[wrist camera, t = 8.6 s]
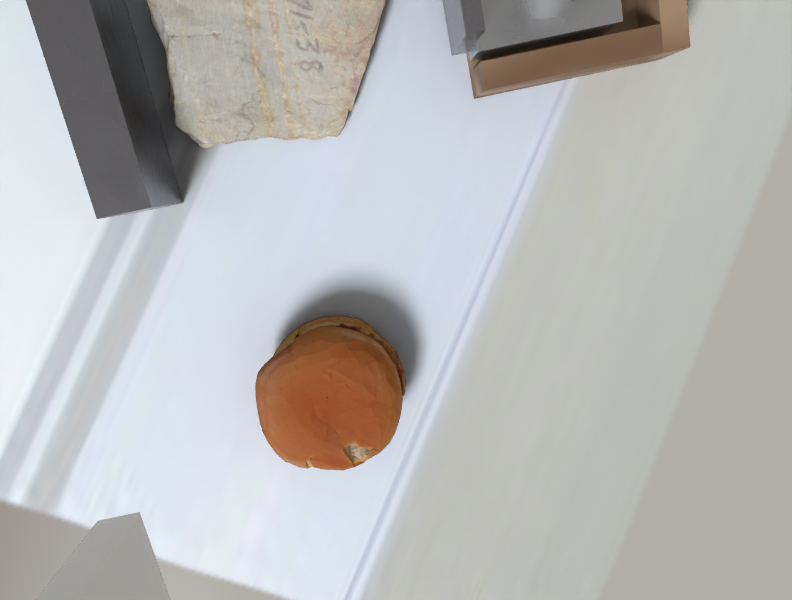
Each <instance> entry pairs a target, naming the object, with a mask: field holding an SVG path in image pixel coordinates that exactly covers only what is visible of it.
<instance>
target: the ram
mask: <svg viewBox="0 0 792 600" xmlns="http://www.w3.org/2000/svg"><path fill="white" fill-rule="evenodd" d="M443 6H444V11H445V17H446V23H447V29H448V35H449V41H450V47H451V53H452V56H453V55H457V54H462V53H467V52H469V57H470V61H473V60H478V59H482V58H487V57H492V56H497V55H501V54H506V53H511V52H516V51H520V50H525V49H530V48H535V47H539V46H544V45H549V44H554V43H558V42H563V41H568V40H572V39H577V38H582V37H587V36H591V35H596V34H601V33H605V32H606V31H608V30H610V29H611V28H613V27H615V26H616V25H618V24H619V23H621V22H623V15H622V5H621V0H443Z"/></svg>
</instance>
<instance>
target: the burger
mask: <svg viewBox="0 0 792 600" xmlns="http://www.w3.org/2000/svg"><path fill="white" fill-rule="evenodd" d="M405 387H406V379H405V376H404V369H403V368H402V363H401V362H400V360H399V359H398V354H397V351H396V352H395V350H394V349H393V348H392V347H391V346H390V345H389V344H388V343H387V342H386V341H384V340H383V339H382V338H381V337H380V336H379V335H378V334H377V333H376V332H375V331H374V330H373V328H372V327H371V326H370V325H368V324H367V323H365V322H364V321H362V320H359V319H355V318H350V317H344V316H330V317H322V318H318V319H316V320H313V321H310V322H307V323H306V324H304V325H302V326H300V327H298V328H297V329H296V330H294V331H293V332H292V333H291V334H290V335H289V336H288V337H287V338H286V339H285V340H284V341H283V342H282V343H281V344H280V346H279V347H278V348H277V350H276V352H275V354H274V356H273V357H272V358H271V359H270V360H269V361H268V362H267V363H265V364H264V366H263V367H262V368H261V369H260V371H259V372H258V375H257V380H256V402H257V409H258V415H259V420H260V424H261V427H262V431H263V433H264V435H265V437H266V439H267V441H268V443H269V444H270V446H271V447H272V448H273V450H274V451H275V452H276V454H278V455H279V456H280V457H281V458H282V459H283V460H284V461H286V462H289V463H291V464H294V465H296V466H298V467H302V468H309V467H315V468H320V469H326V470H346V469H349V468H353V467H356V466H358V465H360V464H362V463H364V462H365V461H366V460H367V459H369V458H371V457H373V456H375V455H377V454H378V453H380V452H381V451H382V450H383V449H384V448H385V447H386V446H387V445H388V444H389V443H390V441H391V439H392V438H393V436H394V434H395V432H396V429H397V426H398V423H399V419H400V415H401V409H402V400H403V397H402V396H403V395H404V393H405Z"/></svg>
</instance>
